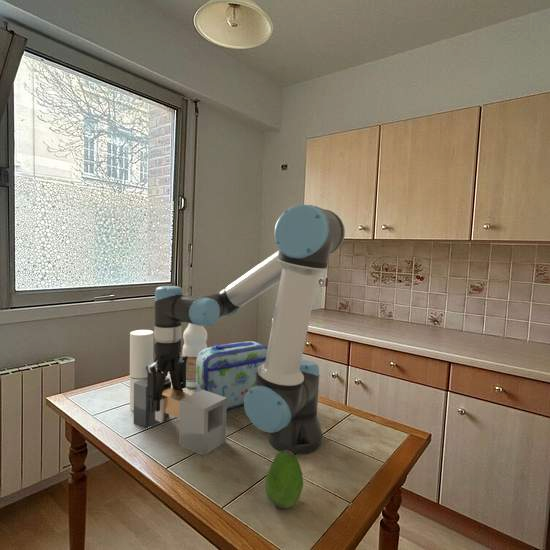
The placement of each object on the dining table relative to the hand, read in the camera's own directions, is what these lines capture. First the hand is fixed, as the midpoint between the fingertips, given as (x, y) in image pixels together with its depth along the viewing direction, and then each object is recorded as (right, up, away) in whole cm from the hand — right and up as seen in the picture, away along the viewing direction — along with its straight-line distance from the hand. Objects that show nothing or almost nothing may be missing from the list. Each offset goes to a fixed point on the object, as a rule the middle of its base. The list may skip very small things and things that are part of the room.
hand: (167, 416), depth 109 cm
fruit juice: (+1, 0, +34) cm, 34 cm away
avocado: (+34, -7, -30) cm, 46 cm away
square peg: (+2, +1, -1) cm, 3 cm away
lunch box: (+18, -3, +19) cm, 26 cm away
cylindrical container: (-12, -2, +13) cm, 18 cm away
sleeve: (+12, -4, -8) cm, 15 cm away
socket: (-6, -3, +4) cm, 8 cm away
